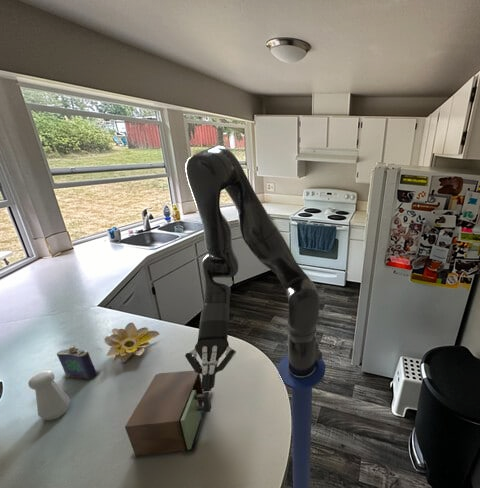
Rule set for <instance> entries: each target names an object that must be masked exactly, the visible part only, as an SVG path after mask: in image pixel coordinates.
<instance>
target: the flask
mask: <svg viewBox="0 0 480 488" xmlns="http://www.w3.org/2000/svg"><path fill="white" fill-rule="evenodd" d="M56 356H57V358H58V361H59V362H60V365H61V367H62V370H63V373H64V374H65V377H68V378H77V379H79V378H81V379H86V380H90V379H93V378H95V377H96V376H98V372H97V370H96V368H95V365H94V363H93V360H92V358H91V356H90V353H89V351H87V350H84V349H80V348H77V345H76V344H74V345H72V346H70V347H69V348H64V349H61V350H59V351H57V353H56Z"/></svg>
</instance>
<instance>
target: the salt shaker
mask: <svg viewBox="0 0 480 488" xmlns="http://www.w3.org/2000/svg"><path fill="white" fill-rule="evenodd" d="M27 383H28V387H29V389H30V390H31V389H32V390H33V391H34V392H35V399H36V407H37V408H36V409H37V415H38V417H40V418H41V419H43V420H47V421H51V420H55V419H59V418H60V417H61V416H63V415H64V414H66V413H67V411H68V408H69V405H70V402H71V401H70V400H71V399H70V396H69V395H68V394H67V393H66V392H65V391H64V390H63V389H62V387H60V386H59V385H58V383H57V382H56V381H55V372H54V371H52V370H43V371H39V372H38V373H36V374H34V375H33V376H32V377H31V378H30V379H29V380H28V382H27Z"/></svg>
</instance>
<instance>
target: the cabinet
mask: <svg viewBox="0 0 480 488" xmlns="http://www.w3.org/2000/svg"><path fill="white" fill-rule="evenodd" d="M201 385H202V376H201V374H200V373H196V372H195V371H194V369H192V370H182V371H169V372H158V373H157V372H156V373H155V375H154V376H153V378H152V380H151V381H150V383H149V385H148V387H147V388H146V390H145V392H144V393H143V394H142V397H141V399H140V400H139V402H138V403H137V405H136V407H135V408H134V411H133V412H132V414H131V416H130V417H129V419H128V421H127V422H126V423H125V425H124V428H125V432H126V434H127V437H128V440H129V442H130V445H131V448H132V451H133V453H134V456H135V457H136V456H145V455H153V454H160V453H161V454H162V453H171V452H176V451H177V452H178V451H185V452H192V451H194V450H195V449H196V448H195V447H196V444H197V442H198V438H199V434H200V431H201V428H202V425H203V422H204V419H205V416H206V413H207V412H205V411H200V414H201V420H200V423H199V426H198V429H197V432H196V435H195V438H194V441H193V444H192V447H191V449H187V445H186V441H185V437H184V433H183V429H182V425H181V418H182V416H183V413H184V411H185V408H186V406H187V403H188V401H189V398H190V396H191V393H192V391H193V390H196V394H197V395H198V394H203V393H204V392H203V389H202V388H201ZM209 397H210V398H211V397H212V393H211V392H209ZM198 404H199V406H204V403H203V399H198Z"/></svg>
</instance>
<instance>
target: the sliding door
mask: <svg viewBox="0 0 480 488" xmlns="http://www.w3.org/2000/svg"><path fill="white" fill-rule="evenodd" d="M209 393H210V391H207V392H203V394H198V395H197V394H196V390H193V391H192V393H191V396H190V398H189V401H188V403H187V406H186V408H185V411H184V413H183V416H182V418H181V425H182V429H183V433H184V437H185V441H186V445H187V447H186V448H187V449H191V447H192V444H193V441H194V438H195V435H196V432H197V429H198V426H199V423H200V420H201V414H200V411H205V412H206V413H211V410H212V403H211V397H209ZM198 399H203V400H202V401H203V403H204V406H199V404H198Z"/></svg>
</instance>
